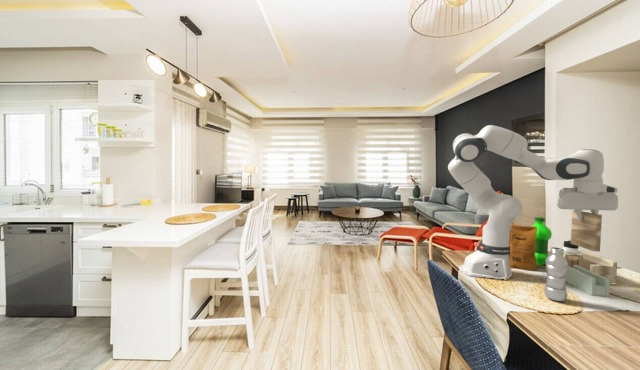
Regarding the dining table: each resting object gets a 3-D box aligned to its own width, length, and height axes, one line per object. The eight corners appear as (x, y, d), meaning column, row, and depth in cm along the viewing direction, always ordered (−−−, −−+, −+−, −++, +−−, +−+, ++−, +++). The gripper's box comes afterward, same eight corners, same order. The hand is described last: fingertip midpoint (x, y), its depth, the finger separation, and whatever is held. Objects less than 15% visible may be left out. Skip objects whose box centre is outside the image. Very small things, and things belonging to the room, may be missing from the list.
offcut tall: (588, 280, 121) (589, 263, 121) (577, 275, 127) (578, 259, 127) (596, 281, 121) (597, 263, 120) (585, 276, 127) (586, 259, 126)
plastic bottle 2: (562, 305, 99) (564, 252, 98) (540, 297, 105) (542, 247, 104) (570, 301, 102) (572, 249, 101) (548, 294, 108) (550, 245, 107)
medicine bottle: (583, 265, 142) (584, 242, 141) (569, 265, 142) (570, 242, 141) (570, 260, 149) (571, 239, 148) (557, 260, 149) (558, 239, 148)
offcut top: (576, 264, 128) (577, 258, 128) (568, 261, 133) (568, 255, 133) (583, 264, 128) (583, 258, 128) (574, 261, 133) (574, 255, 133)
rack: (589, 283, 119) (591, 260, 118) (560, 268, 136) (561, 249, 136) (615, 284, 117) (617, 262, 117) (582, 269, 135) (583, 250, 134)
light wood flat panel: (593, 251, 108) (595, 214, 107) (570, 243, 120) (572, 210, 119) (599, 251, 108) (601, 214, 107) (576, 243, 120) (578, 210, 119)
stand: (591, 295, 107) (592, 278, 106) (560, 278, 124) (561, 264, 123) (608, 296, 106) (609, 279, 106) (575, 279, 123) (576, 264, 122)
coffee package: (507, 261, 147) (509, 222, 146) (536, 266, 139) (538, 225, 138) (505, 266, 140) (506, 224, 139) (535, 272, 131) (537, 228, 130)
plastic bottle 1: (530, 259, 151) (532, 215, 150) (553, 264, 142) (555, 218, 141) (522, 262, 146) (524, 217, 145) (546, 268, 137) (548, 219, 136)
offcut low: (575, 274, 128) (576, 264, 128) (567, 270, 134) (568, 260, 133) (583, 275, 128) (583, 264, 128) (574, 271, 133) (575, 261, 133)
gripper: (565, 188, 111) (563, 220, 112) (622, 188, 108) (620, 222, 109) (554, 187, 118) (553, 218, 118) (608, 187, 114) (606, 219, 115)
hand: (585, 220), depth 113 cm, fingers closed on light wood flat panel, 2 cm apart
